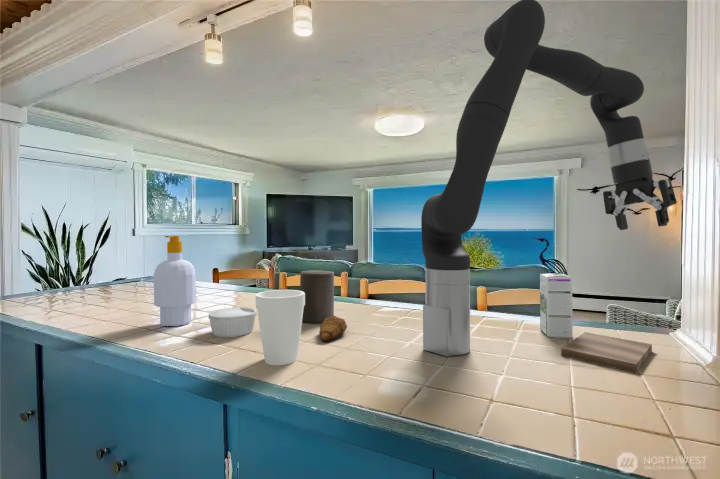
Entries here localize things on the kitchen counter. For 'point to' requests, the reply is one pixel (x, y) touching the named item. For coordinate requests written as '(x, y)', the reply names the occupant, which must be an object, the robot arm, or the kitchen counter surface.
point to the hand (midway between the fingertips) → (642, 227)
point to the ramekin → (232, 321)
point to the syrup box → (556, 305)
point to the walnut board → (608, 351)
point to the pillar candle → (317, 295)
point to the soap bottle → (174, 286)
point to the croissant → (332, 328)
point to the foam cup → (280, 324)
